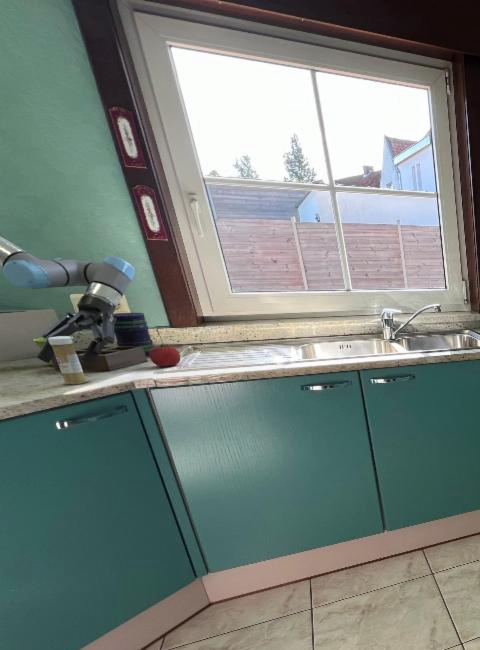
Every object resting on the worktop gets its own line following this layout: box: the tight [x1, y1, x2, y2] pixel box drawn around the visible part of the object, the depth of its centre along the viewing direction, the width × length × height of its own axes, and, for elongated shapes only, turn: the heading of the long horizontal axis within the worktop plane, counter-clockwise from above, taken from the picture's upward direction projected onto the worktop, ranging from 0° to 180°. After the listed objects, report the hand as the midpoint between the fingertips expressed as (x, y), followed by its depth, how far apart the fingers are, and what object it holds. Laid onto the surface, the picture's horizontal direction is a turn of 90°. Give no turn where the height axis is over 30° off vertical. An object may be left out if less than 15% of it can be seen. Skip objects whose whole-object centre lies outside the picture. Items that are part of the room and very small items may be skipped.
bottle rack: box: [51, 345, 148, 372], centre depth 164 cm, size 16×16×5 cm
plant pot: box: [32, 335, 75, 367], centre depth 164 cm, size 9×9×9 cm
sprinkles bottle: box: [48, 336, 87, 386], centre depth 142 cm, size 5×5×13 cm
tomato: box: [149, 343, 182, 368], centre depth 166 cm, size 8×8×7 cm
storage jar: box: [112, 312, 156, 358], centre depth 178 cm, size 10×10×15 cm
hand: (64, 361), depth 141 cm, fingers open, 13 cm apart
